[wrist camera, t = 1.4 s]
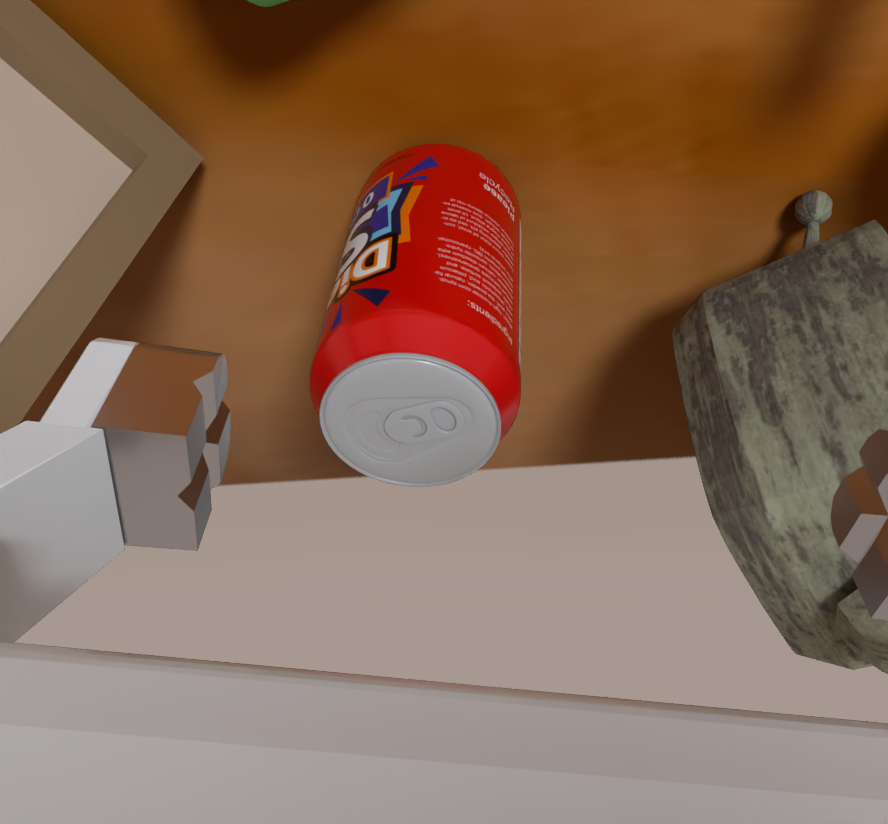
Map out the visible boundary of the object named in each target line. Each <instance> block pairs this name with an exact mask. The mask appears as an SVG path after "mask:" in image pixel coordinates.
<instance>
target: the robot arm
mask: <svg viewBox="0 0 888 824" xmlns="http://www.w3.org/2000/svg"><path fill="white" fill-rule="evenodd" d="M227 384H228V370H227V360H226V358H225V356H224V355H223V354H222V353H215V352H207V351H200V350H193V349H185V348H178V347H171V346H163V345H156V344H148V343H137V342H131V341H123V340H115V339H106V338H97V339H95V340H93V341H91V342H90V343H89V344H88V346H87V347H86V349H85V350H84V352H83V354H82V355H81V357H80V358H79V360H78V361H77V363H76V365H75V366H74V368H73V369H72V371H71V373H70V374H69V376H68V377H67V379H66V381H65V382H64V384H63V385H62V387H61V388H60V390H59V392H58V393H57V395H56V396H55V398H54V400H53V401H52V403H51V404H50V406H49V408H48V409H47V411H46V412H45V414H44V415H43V417H42V419H41V420H40V422H34V421H25V422H23V423H21V424H19V425H17V426H15V427H13V428H11V429H9V430H7V431H5V432H3V433H1V434H0V824H888V723H878V722H868V721H856V720H845V719H834V718H824V717H814V716H803V715H792V714H781V713H770V712H759V711H749V710H738V709H727V708H717V707H716V708H715V707H706V706H695V705H684V704H673V703H662V702H651V701H641V700H629V699H619V698H608V697H596V696H586V695H575V694H565V693H553V692H543V691H532V690H520V689H510V688H500V687H488V686H478V685H477V686H476V685H466V684H456V683H446V682H434V681H423V680H413V679H401V678H391V677H380V676H370V675H359V674H348V673H337V672H326V671H315V670H305V669H294V668H283V667H272V666H261V665H250V664H239V663H229V662H218V661H206V660H196V659H185V658H174V657H163V656H153V655H142V654H131V653H119V652H109V651H98V650H88V649H77V648H65V647H55V646H43V645H34V644H22V643H14V642H15V641H16V640H17V639H19V638H20V637H21V636H22V635H23V634H25V633H26V632H27V631H28V630H29V629H31V628H32V627H33V626H34V625H35V624H36V623H38V622H39V621H40V620H41V619H42V618H44V617H45V616H46V615H47V614H48V613H49V612H51V611H52V610H53V609H54V608H56V607H57V606H58V605H59V604H60V603H61V602H62V601H64V600H65V599H66V598H67V597H69V596H70V595H71V594H72V593H73V592H74V591H76V590H77V589H78V588H79V587H80V586H81V585H83V584H84V583H85V582H86V581H88V580H89V579H90V578H91V577H92V576H93V575H94V574H96V573H97V572H98V571H99V570H100V569H102V568H103V567H104V566H105V565H107V564H108V563H109V562H110V561H111V560H112V559H114V558H115V557H116V556H117V555H118V554H120V553H121V552H122V551H123V550H124V549H125V548H124V545H129V546H143V547H156V548H170V549H184V550H196V551H197V550H198V548H199V545H200V542H201V539H202V536H203V533H204V530H205V527H206V524H207V521H208V518H209V515H210V512H211V495H210V490H211V489H212V488H214V487H215V486H217V485H218V484H220V483H221V479H222V476H223V473H224V470H225V466H226V461H227V456H228V450H229V445H230V428H231V423H230V409H229V408H228V407H227V406H226V405H225V404H224V403H223V401H222V398H223V395H224V393H225V390H226V387H227ZM859 455H860V459H861V462H862V467H860V468H859V469H857V470H855V471H854V472H852V473H850V474H849V475H847V476H845V477H844V478H843V479H842V481H841V483H840V485H839V487H838V489H837V491H836V492H835V494H834V496H833V502H832V509H831V516H830V517H831V524H832V530H833V534H834V536H835V539H836V541H837V543H838V546H839V548H840V549H841V550H843V551H844V552H845V553H846V554H847V555H848V556H850V557H851V558H852V559H853V560H854V561H856V562H857V565H856V567H855V569H854V571H853V574H852V577H853V579H854V581H855V584H856V586H857V588H858V590H859V592H860V594H861V597H862V599H863V601H864V603H865V605H866V608H867V610H868V612H869V614H870V616H871V618H875V619H883V620H888V430H883V429H878V430H877V431H876V432H874V433H873V434H872V435H871V436H869V437H868V438H867V440H866V441H865V443H864V445H863V446H862V448H861V449H860V451H859Z"/></svg>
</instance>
